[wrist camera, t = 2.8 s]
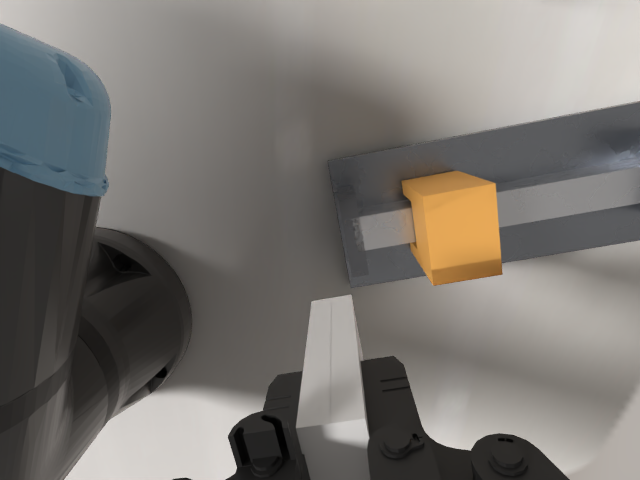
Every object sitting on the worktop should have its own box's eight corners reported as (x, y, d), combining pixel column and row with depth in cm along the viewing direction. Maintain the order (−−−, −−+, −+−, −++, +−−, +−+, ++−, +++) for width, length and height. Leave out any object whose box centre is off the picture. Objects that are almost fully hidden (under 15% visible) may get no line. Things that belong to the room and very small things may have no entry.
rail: (350, 283, 33) (355, 331, 25) (327, 160, 30) (326, 171, 22) (658, 231, 31) (767, 266, 23) (663, 96, 28) (787, 84, 20)
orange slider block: (411, 250, 30) (433, 285, 24) (401, 180, 29) (422, 196, 22) (464, 241, 30) (502, 274, 23) (457, 170, 29) (495, 183, 22)
